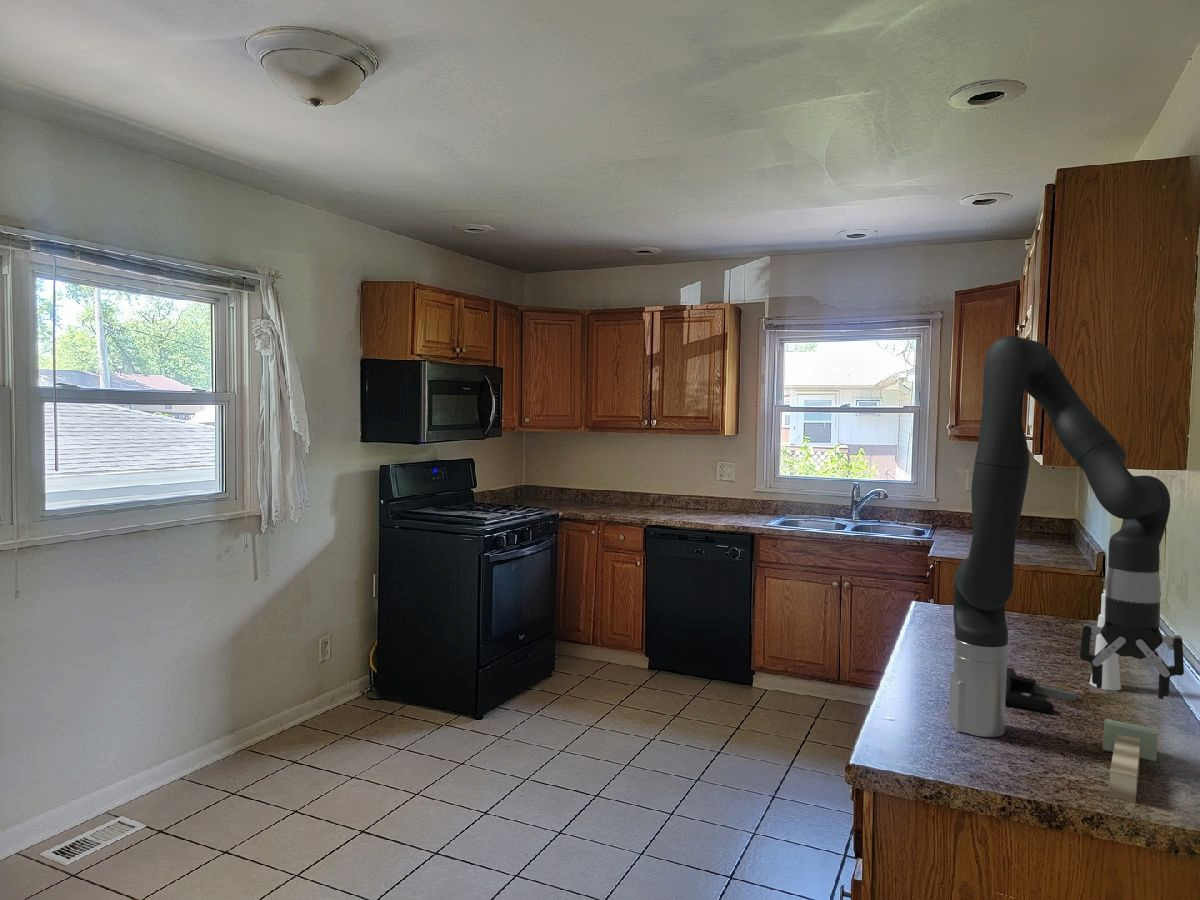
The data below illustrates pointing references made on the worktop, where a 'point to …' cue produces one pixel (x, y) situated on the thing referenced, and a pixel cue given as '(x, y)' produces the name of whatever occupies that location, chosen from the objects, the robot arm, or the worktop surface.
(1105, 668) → the cosmetic bottle
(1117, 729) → the ridge
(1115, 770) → the bar
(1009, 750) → the worktop surface
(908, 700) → the worktop surface
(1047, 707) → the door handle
